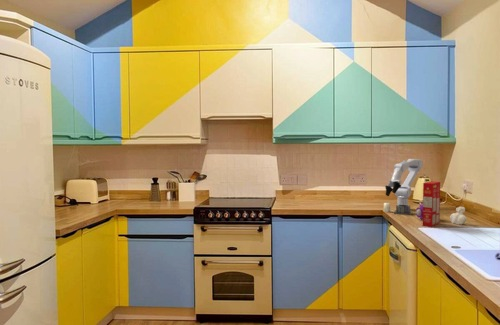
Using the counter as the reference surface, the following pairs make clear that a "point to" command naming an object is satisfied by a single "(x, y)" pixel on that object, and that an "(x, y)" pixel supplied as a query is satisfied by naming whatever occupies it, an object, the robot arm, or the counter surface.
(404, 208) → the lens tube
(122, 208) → the counter surface
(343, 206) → the counter surface
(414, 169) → the robot arm
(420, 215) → the toy camera
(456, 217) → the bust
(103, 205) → the counter surface
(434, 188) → the food packaging
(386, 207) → the plug
